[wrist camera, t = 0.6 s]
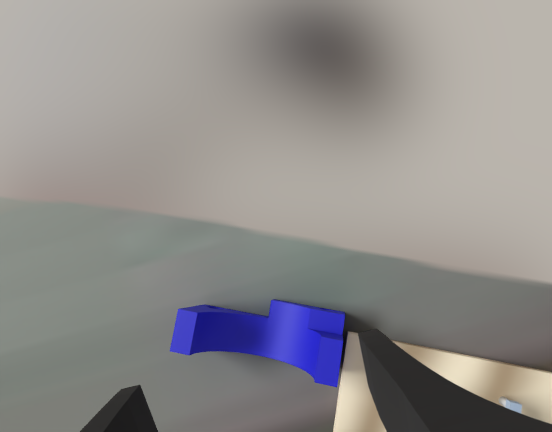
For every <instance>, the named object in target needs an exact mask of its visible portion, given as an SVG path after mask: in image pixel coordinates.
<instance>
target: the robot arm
mask: <svg viewBox="0 0 552 432" xmlns="http://www.w3.org/2000/svg"><path fill="white" fill-rule="evenodd" d="M358 337H359V342H360V347H361V352H362V357H363V362H364V367H365V372H366V377H367V383H368V387H369V390H370V392H371V395H372V398H373V401H374V403H375V406H376V409H377V411H378V414H379V417H380V419H381V421H382V423H383V425H384V427H385V429H386V431H387V432H552V424H550V423H547V422H544V421H541V420H538V419H535V418H532V417H529V416H526V415H523V414H521V413H518V412H515V411H513V410H510V409H508V408H505V407H503V406H501V405H498V404H496V403H494V402H491V401H489V400H487V399H484V398H482V397H480V396H478V395H476V394H474V393H472V392H470V391H468V390H466V389H464V388H462V387H460V386H458V385H456V384H454V383H453V382H451V381H449V380H447V379H446V378H444V377H442V376H441V375H439V374H438V373H436V372H434V371H433V370H431V369H430V368H428V367H427V366H425V365H424V364H422V363H421V362H419V361H418V360H417V359H415V358H414V357H412V356H411V355H409V354H408V353H407V352H405V351H404V350H403V349H401V348H400V347H399V346H398V345H396V344H395V343H394V342H393V341H391V340H390V339H389V338H388V337H386V336H385V335H384V334H383V333H382V332H380V331H379V330H377V329H374V330H369V331H365V332H361V333H358ZM80 432H158V430H157V428H156V425H155V423H154V420H153V417H152V415H151V412H150V410H149V407H148V404H147V402H146V399H145V397H144V394H143V391H142V389H141V386H140V385H137V386H133V387H129V388H124V389H121V390H120V391H119V392H118V393H117V394H116V395H115V396H114V397H113V398H112V399H111V400H110V401H109V402H108V403H107V404H106V405H105V406H104V407H103V408H102V409H101V410H100V411H99V412H98V413H97V414H96V415H95V416H94V417H93V418H92V419H91V421H90V422H89V423H88V424H87V425H86V426H85V427H84V428H83V429H82V430H81V431H80Z"/></svg>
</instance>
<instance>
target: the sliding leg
mask: <svg viewBox="0 0 552 432" xmlns="http://www.w3.org/2000/svg"><path fill="white" fill-rule="evenodd" d="M499 403H500V404H501V405H503V406H504V407H505V408H508V409H510V410H513V411H515V412H518V413H521V410H522V404H520V403H519V402H517V401H512V400H509V399H507V398H506V397H504V396H501V397H500V398H499Z"/></svg>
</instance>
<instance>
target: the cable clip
mask: <svg viewBox="0 0 552 432" xmlns="http://www.w3.org/2000/svg"><path fill="white" fill-rule="evenodd" d="M344 319H345V313H344V312H341V311H336V310H330V309H325V308H319V307H313V306H308V305H302V304H297V303H291V302H286V301H280V300H275V299H273V300H271V305H270V312H269V317H268V316H263V315H257V314H252V313H247V312H241V311H236V310H231V309H226V308H220V307H215V306H210V305H199V306H193V307H187V308H181V309H178V313H177V318H176V323H175V328H174V333H173V338H172V343H171V348H170V351H171V352H176V353H181V354H185V355H191V354H194V353H199V352H207V351H227V352H239V353H247V354H253V355H259V356H263V357H268V358H272V359H276V360H279V361H283V362H286V363H289V364H291V365H294V366H296V367H299V368H301V369H303V370H304V371H306V372H308V373H309V374H310V375H311V376H312V377H313V378H314V380H315V383H320V384H325V385H329V386H334V387H337V383H338V376H339V369H340V361H341V354H342V346H343V336H342V334H343V327H344Z"/></svg>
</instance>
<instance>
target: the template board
mask: <svg viewBox="0 0 552 432" xmlns="http://www.w3.org/2000/svg"><path fill="white" fill-rule="evenodd" d="M391 341H393V342H394V343H395V344H396V345H398V346H399V347H400V348H401V349H403V350H404V351H405V352H407V353H408V354H409V355H411V356H412V357H414V358H415V359H417V360H418V361H419V362H421V363H422V364H424V365H425V366H427V367H428V368H430V369H431V370H433V371H434V372H436V373H438V374H439V375H441V376H442V377H444V378H446V379H447V380H449V381H451V382H453V383H454V384H456V385H458V386H460V387H462V388H464V389H466V390H468V391H470V392H472V393H474V394H476V395H478V396H480V397H482V398H484V399H487V400H489V401H491V402H494V403H496V404H498V405H501V404H500V403H499V398H500V397H501V396H504V397H506V398H507V399H509V400H512V401H517V402H519V403H520V404H522V410H521V414H523V415H526V416H529V417H532V418H535V419H538V420H541V421H544V422H547V423H550V424H552V372H549V371H544V370H539V369H534V368H529V367H524V366H519V365H514V364H509V363H504V362H499V361H494V360H489V359H484V358H479V357H474V356H469V355H464V354H459V353H454V352H449V351H444V350H439V349H434V348H429V347H424V346H419V345H414V344H409V343H404V342H399V341H394V340H391ZM501 406H503V405H501ZM503 407H504V406H503ZM333 432H387V431H386V429H385V427H384V425H383V423H382V421H381V419H380V417H379V414H378V411H377V409H376V406H375V403H374V401H373V398H372V395H371V392H370V390H369V387H368V383H367V377H366V372H365V367H364V362H363V357H362V352H361V347H360V342H359V337H358V333H354V332H349V331H348V332H347V339H346V346H345V353H344V360H343V367H342V373H341V380H340V387H339V394H338V401H337V408H336V415H335V422H334V429H333Z"/></svg>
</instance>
